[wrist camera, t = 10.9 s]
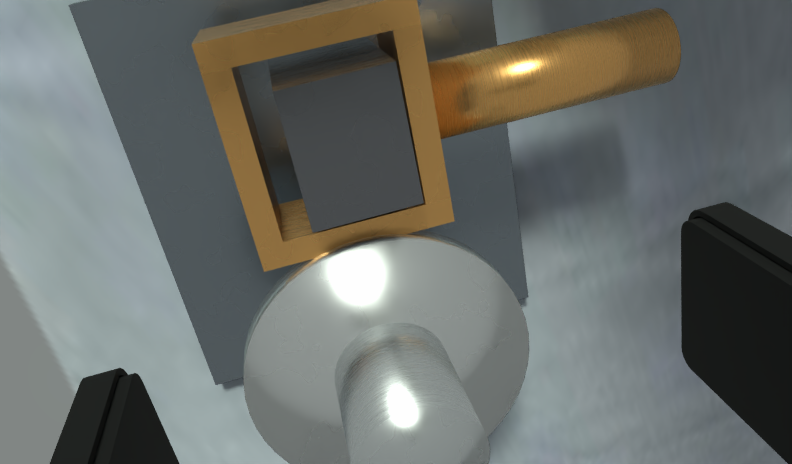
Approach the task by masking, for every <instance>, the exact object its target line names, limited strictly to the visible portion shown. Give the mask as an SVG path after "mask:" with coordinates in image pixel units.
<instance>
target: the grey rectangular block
mask: <svg viewBox="0 0 792 464" xmlns="http://www.w3.org/2000/svg"><path fill="white" fill-rule="evenodd" d="M267 60H268V66H269V72H270V79H271V85H272V91H273V95H274V98H275V102H276V105H277V109H278V112H279V116H280V119H281V123H282V127H283V130H284V134H285V137H286V141H287V144H288V148H289V151H290V155H291V158H292V162H293V165H294V169H295V172H296V176H297V179H298V183H299V186H300V190H301V193H302V197H303V201H304V204H305V208H306V211H307V215H308V218H309V222H310V225H311V229H312V232H313V233H315V232H318V231H322V230H326V229H329V228H333V227H337V226H341V225H344V224H348V223H352V222H355V221H359V220H363V219H367V218H370V217H374V216H378V215H381V214H385V213H389V212H393V211H396V210H400V209H404V208H407V207H411V206H415V205H419V204H422V203H424V201H423V196H422V191H421V186H420V181H419V176H418V171H417V166H416V161H415V155H414V150H413V145H412V140H411V135H410V130H409V125H408V120H407V115H406V110H405V105H404V100H403V95H402V90H401V85H400V80H399V75H398V70H397V65H396V61H395V60H394V59H392V58H391V57H390V56H389V55H387V54H386V53H385V52H384V51H382V50H381V49H380V48H379V47H377V46H376V45H375V44H374V43H372V42H371V41H370V40H369V39H367V38H366V37H361V38H357V39H353V40H348V41H344V42H340V43H335V44H331V45H327V46H322V47H318V48H314V49H310V50H305V51H301V52H297V53H292V54H288V55H284V56H280V57H275V58H271V59H267Z"/></svg>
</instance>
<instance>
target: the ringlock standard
mask: <svg viewBox="0 0 792 464" xmlns="http://www.w3.org/2000/svg"><path fill="white" fill-rule="evenodd" d="M69 7H70V10H71V13H72V15H73V18H74V20H75V23H76V25H77V28H78V31H79V33H80V36H81V38H82V41H83V44H84V46H85V49H86V51H87V54H88V56H89V59H90V62H91V64H92V67H93V69H94V72H95V74H96V77H97V80H98V82H99V85H100V87H101V90H102V93H103V95H104V98H105V100H106V103H107V105H108V108H109V111H110V113H111V116H112V118H113V121H114V124H115V126H116V129H117V131H118V134H119V136H120V139H121V142H122V144H123V147H124V149H125V152H126V154H127V157H128V160H129V162H130V165H131V167H132V170H133V173H134V175H135V178H136V180H137V183H138V185H139V188H140V191H141V193H142V196H143V198H144V201H145V203H146V206H147V209H148V211H149V214H150V216H151V219H152V222H153V224H154V227H155V229H156V232H157V234H158V237H159V240H160V242H161V245H162V247H163V250H164V253H165V255H166V258H167V260H168V263H169V265H170V268H171V271H172V273H173V276H174V278H175V281H176V283H177V286H178V289H179V291H180V294H181V296H182V299H183V302H184V304H185V307H186V309H187V312H188V314H189V317H190V320H191V322H192V325H193V327H194V330H195V333H196V335H197V338H198V340H199V343H200V345H201V348H202V351H203V353H204V356H205V358H206V361H207V363H208V366H209V369H210V371H211V374H212V376H213V379H214V382H215V384H216V385H218V384H222V383H225V382H229V381H232V380H236V379H239V378H243V377H244V391H245V399H246V403H247V406H248V410H249V413H250V416H251V418H252V420H253V422H254V424H255V426H256V428H257V430H258V431H259V433H260V434H261V436H262V437H263V439H264V440H265V442H266V443H267V444H268V445H269V446H270V447H271V448H272V449H273V450H274V451H275V452H276V453H277V454H278V455H279V456H281V457H282V458H283V459H284V460H286V461H287V462H288V463H290V464H488V463H489V459H490V444H489V441H488V436H489V435H490V434H491V433H492V432H493V431H494V430H495V429H496V427H497V426H498V425H499V424H500V423H501V422H502V420H503V419H504V417H505V416H506V415H507V413H508V412H509V410H510V409H511V407H512V405H513V403H514V402H515V400H516V398H517V396H518V394H519V391H520V389H521V386H522V384H523V381H524V378H525V374H526V370H527V366H528V357H529V333H528V328H527V324H526V319H525V316H524V313H523V311H522V308H521V305H520V303H519V301H518V300H520V299H524V298H527V297H528V291H527V283H526V275H525V266H524V258H523V250H522V242H521V234H520V226H519V218H518V210H517V202H516V194H515V186H514V178H513V170H512V162H511V154H510V145H509V137H508V129H507V123H508V122H512V121H516V120H520V119H524V118H528V117H532V116H536V115H540V114H544V113H548V112H552V111H556V110H560V109H564V108H567V107H571V106H575V105H579V104H583V103H587V102H591V101H595V100H599V99H603V98H607V97H611V96H615V95H619V94H623V93H627V92H631V91H635V90H639V89H643V88H647V87H651V86H655V85H659V84H663V83H667V82H669V81H671V80H672V79H673V78H674V77H675V75H676V73H677V71H678V68H679V65H680V58H681V45H680V38H679V34H678V31H677V28H676V25H675V23H674V21H673V20H672V18H671V17H670V15H669V14H668V13H667V12H666V11H664V10H662V9H660V8H654V9H649V10H645V11H641V12H637V13H633V14H629V15H624V16H620V17H616V18H612V19H608V20H603V21H599V22H595V23H591V24H587V25H583V26H578V27H574V28H570V29H566V30H562V31H557V32H553V33H549V34H545V35H541V36H537V37H532V38H528V39H524V40H520V41H516V42H511V43H507V44H503V45H499V46H497V41H496V33H495V24H494V16H493V8H492V0H87V1H82V2H78V3H74V4H71V5H69ZM361 37H366V38H367V39H369V40H370V41H371V42H372V43H374V44H375V45H376V46H377V47H379V48H380V49H381V50H382V51H384V52H385V53H386V54H387V55H389V56H390V57H391V58H392V59H394V60H395V61H396V65H397V70H398V75H399V80H400V85H401V90H402V95H403V100H404V105H405V110H406V115H407V120H408V125H409V130H410V135H411V140H412V145H413V150H414V155H415V161H416V166H417V171H418V176H419V181H420V186H421V191H422V196H423V201H424V203H422V204H419V205H415V206H411V207H407V208H404V209H400V210H396V211H393V212H389V213H385V214H381V215H378V216H374V217H370V218H367V219H363V220H359V221H355V222H352V223H348V224H344V225H341V226H337V227H333V228H329V229H326V230H322V231H318V232H315V233H313V232H312V229H311V225H310V222H309V218H308V215H307V211H306V208H305V204H304V201H303V197H302V193H301V190H300V186H299V183H298V179H297V176H296V172H295V169H294V165H293V162H292V158H291V155H290V151H289V148H288V144H287V141H286V137H285V134H284V130H283V127H282V123H281V119H280V116H279V112H278V109H277V105H276V102H275V98H274V95H273V91H272V85H271V79H270V72H269V66H268V60H267V59H271V58H275V57H280V56H284V55H288V54H292V53H297V52H301V51H305V50H310V49H314V48H318V47H322V46H327V45H331V44H335V43H340V42H344V41H348V40H353V39H357V38H361Z"/></svg>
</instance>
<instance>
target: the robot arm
mask: <svg viewBox="0 0 792 464" xmlns="http://www.w3.org/2000/svg"><path fill="white" fill-rule="evenodd" d="M681 300H682V353H683V356H684V359H685V361H686V363H687V364H688V366H689V367H690V368H691V370H692V371H693V372H694V373H695V374H696V375H697V376H699V377H700V378H701V379H702V380H703V381H704V382H705V383H706V384H707V385H708V386H709V387H710V388H711V389H712V390H713V391H714V392H715V393H716V394H717V395H718V396H719V397H720V398H721V399H722V400H723V401H724V402H725V403H726V404H727V405H728V406H729V407H730V408H731V409H732V410H733V411H735V412H736V413H737V414H738V415H739V416H740V417H741V418H742V419H743V420H744V421H745V422H746V423H747V424H748V425H749V426H750V427H751V428H752V429H753V430H754V431H755V432H756V433H757V434H758V435H759V436H760V437H761V438H762V439H763V440H764V441H765V442H766V443H767V444H768V445H769V446H771V447H772V448H773V449H774V450H775V451H776V452H777V453H778V454H779V455H780V456H781V457H782V458H783V459H784V460H785V461H786V462H787V463H788V464H792V237H791V236H789V235H787V234H785V233H784V232H782V231H780V230H778V229H776V228H774V227H773V226H771V225H769V224H767V223H765V222H763V221H762V220H760V219H758V218H756V217H754V216H753V215H751V214H749V213H747V212H745V211H743V210H742V209H740V208H738V207H736V206H734V205H732V204H730V203H727V202H725V203H720V204H717V205H713V206H709V207H706V208H702V209H698V210H695V211H693V212H692V213H691V214H690V216H689V219H688V221H686V222H685V223H683V225H682V229H681ZM50 464H179V462H178V460H177V457H176V455H175V453H174V451H173V448H172V446H171V444H170V442H169V440H168V437H167V435H166V433H165V431H164V428H163V426H162V424H161V422H160V419H159V417H158V415H157V413H156V411H155V408H154V406H153V404H152V402H151V399H150V397H149V395H148V393H147V391H146V388H145V386H144V384H143V382H142V380H141V378H140V376H139V375H138V374H136V373H134V374H131V375H128V374H127V373H126V372H125V371H124V369H121V368H118V369H114V370H111V371H107V372H104V373H100V374H96V375H93V376H89V377H86V378H83V379H82V381H81V383H80V385H79V388H78V391H77V393H76V396H75V398H74V401H73V404H72V406H71V409H70V412H69V414H68V417H67V420H66V422H65V425H64V427H63V430H62V433H61V435H60V438H59V441H58V443H57V446H56V449H55V451H54V454H53V456H52V459H51V462H50Z"/></svg>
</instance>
